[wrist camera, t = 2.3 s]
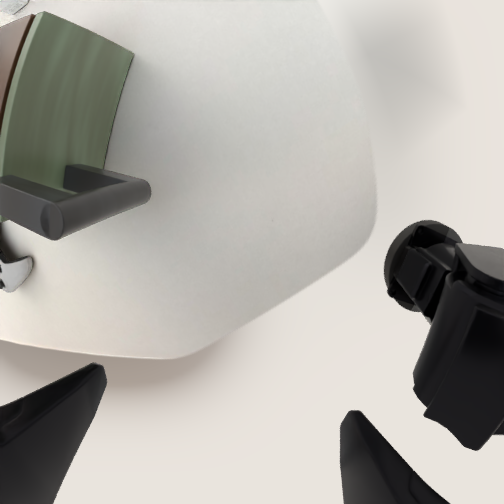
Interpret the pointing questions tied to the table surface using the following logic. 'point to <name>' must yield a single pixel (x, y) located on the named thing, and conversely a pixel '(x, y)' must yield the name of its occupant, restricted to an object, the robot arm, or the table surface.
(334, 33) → the table surface
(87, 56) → the cupboard door
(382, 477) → the robot arm
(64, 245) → the table surface
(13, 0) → the ink box
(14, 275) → the game controller
